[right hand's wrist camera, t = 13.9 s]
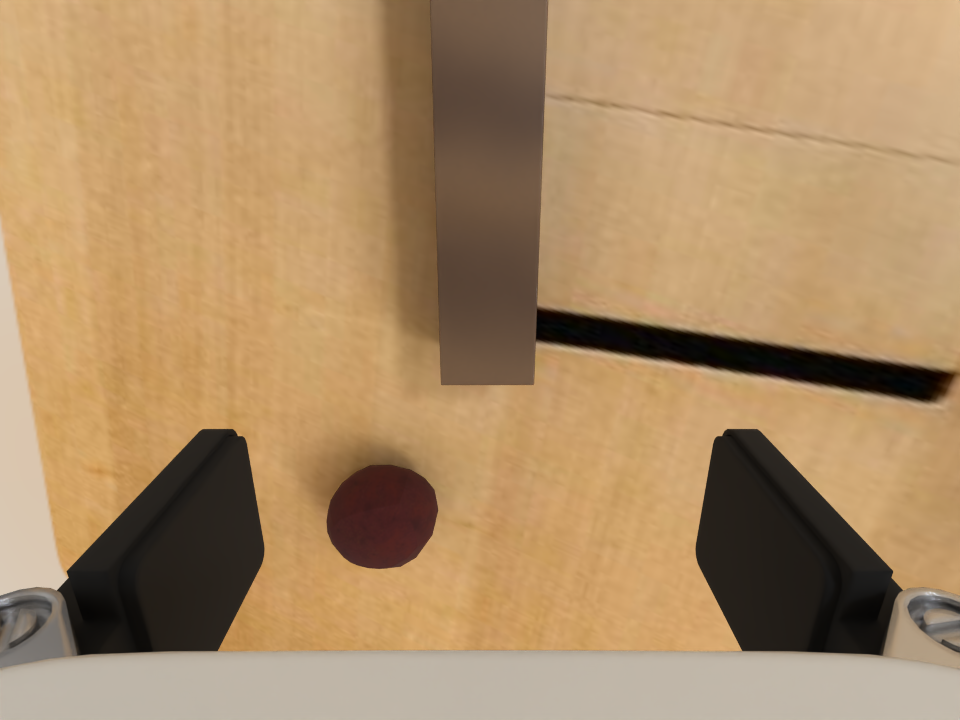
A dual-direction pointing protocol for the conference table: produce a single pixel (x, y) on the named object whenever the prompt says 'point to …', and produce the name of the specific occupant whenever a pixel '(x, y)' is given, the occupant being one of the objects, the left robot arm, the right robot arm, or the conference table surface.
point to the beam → (488, 184)
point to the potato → (382, 516)
